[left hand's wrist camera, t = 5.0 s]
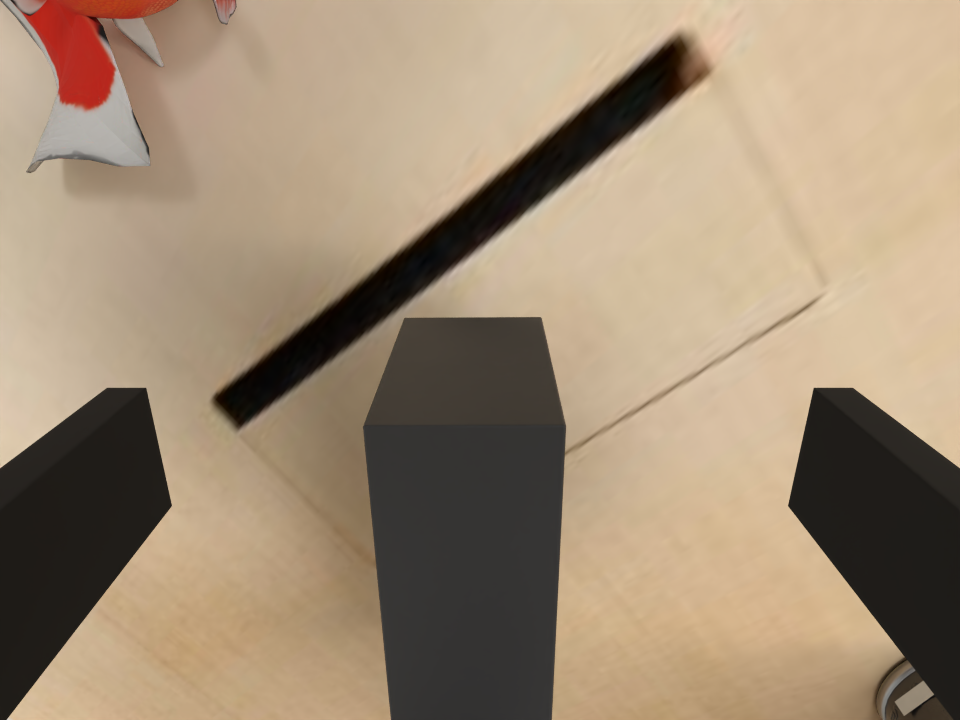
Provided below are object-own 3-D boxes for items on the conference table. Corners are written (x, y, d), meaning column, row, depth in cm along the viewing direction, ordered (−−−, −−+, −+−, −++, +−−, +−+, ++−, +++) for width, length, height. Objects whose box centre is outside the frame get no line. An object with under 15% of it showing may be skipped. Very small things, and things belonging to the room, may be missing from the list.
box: (403, 317, 26) (362, 425, 18) (541, 316, 26) (566, 425, 18) (429, 729, 36) (410, 926, 27) (529, 729, 36) (541, 928, 27)
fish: (358, 60, 25) (108, 16, 17) (177, 220, 35) (-40, 240, 27) (253, -196, 25) (-55, -363, 17) (98, 36, 34) (-148, -1, 26)
